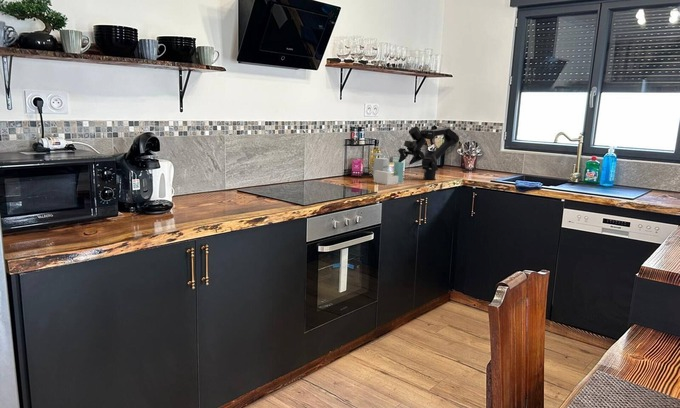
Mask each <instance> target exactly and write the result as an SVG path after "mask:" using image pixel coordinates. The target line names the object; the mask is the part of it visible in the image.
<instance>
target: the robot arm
mask: <svg viewBox="0 0 680 408" xmlns="http://www.w3.org/2000/svg"><path fill="white" fill-rule="evenodd" d="M408 134H409V135H410V137H411V139H412V141H411V140H405V141H404V143H403V147H405V148H402V147H401V148H399V149H398V150H397V151H398V153H399V158H398V161H397V162H402V163H403V161H405V160H406V159H407V157H409V156H410V155H411V156H412V157H411V160H410V161H409V162H408V164H409V165H410V166H411V165H413V164H415V163H418V162H420V161H421V165H422V167H421V168H422V170H424V171H423V180H426V181H436V180H437V179H436V171H438V170H439V167H438V165H437V163H438V160H439V158H441V156H443V155H444V154H445V152H447V150H448V149H450V147H453V146H455V145H457V144H458V143H459V141H460V137H459V135H458V134H457V133H456V132H455V131H453V130H452V129H451V128H450V127H443V128H437V129H435V128H434V129H421V130H420V129H419V126H416V125H415V126H414V127H412V128H410V129H409V130H408ZM442 135H443V138H444V141H443V142H442V144H440V146H438V147H437V148H436V149H435V151H434V152H432V154H426V155H425V153H424V152H423V150H422V148H423V147H424V146H428V140H432V139H433V138H435V137H438V136H442Z"/></svg>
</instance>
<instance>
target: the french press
mask: <svg viewBox="0 0 680 408" xmlns="http://www.w3.org/2000/svg"><path fill="white" fill-rule="evenodd" d="M379 139H380V138H379V137H376V139H375V140H376V142H377V141H379ZM372 153H373V154H372ZM372 153H370V156H374V157H380V158H384V156H383V153H381V152H379V153H375V152H372ZM372 162H374V161H372ZM372 165H373V166H372ZM371 166H372V167H373V168H372V167H371ZM370 167H371V168H372V169H373V170H374V163H371V162H370ZM372 169H370V170H372ZM373 170H372V171H373ZM372 171H371V173H372V175H373V172H372ZM372 175H371V176H372Z"/></svg>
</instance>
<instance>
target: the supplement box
mask: <svg viewBox="0 0 680 408" xmlns="http://www.w3.org/2000/svg"><path fill="white" fill-rule="evenodd" d="M373 160H374V165H373V166H374V167H373V168H374V169H373V176H372V178H373V179H374V171H375V170H379V171H385V172H390V171H389V169H390V168H389V167H390V158H386V157H385V158H384V157H383V158H381V157H377V158H376V157H375V158H373Z"/></svg>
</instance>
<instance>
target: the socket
mask: <svg viewBox="0 0 680 408" xmlns="http://www.w3.org/2000/svg"><path fill="white" fill-rule="evenodd" d="M392 175H393V174H392V172H391V171H388V172H385V171H379V170H375V171H374V178H373V183H377V184H380V185H382V184H383V185H386V186H387V185H394V184H395V185H396V184H399V183H398V177H399V176H392Z"/></svg>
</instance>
